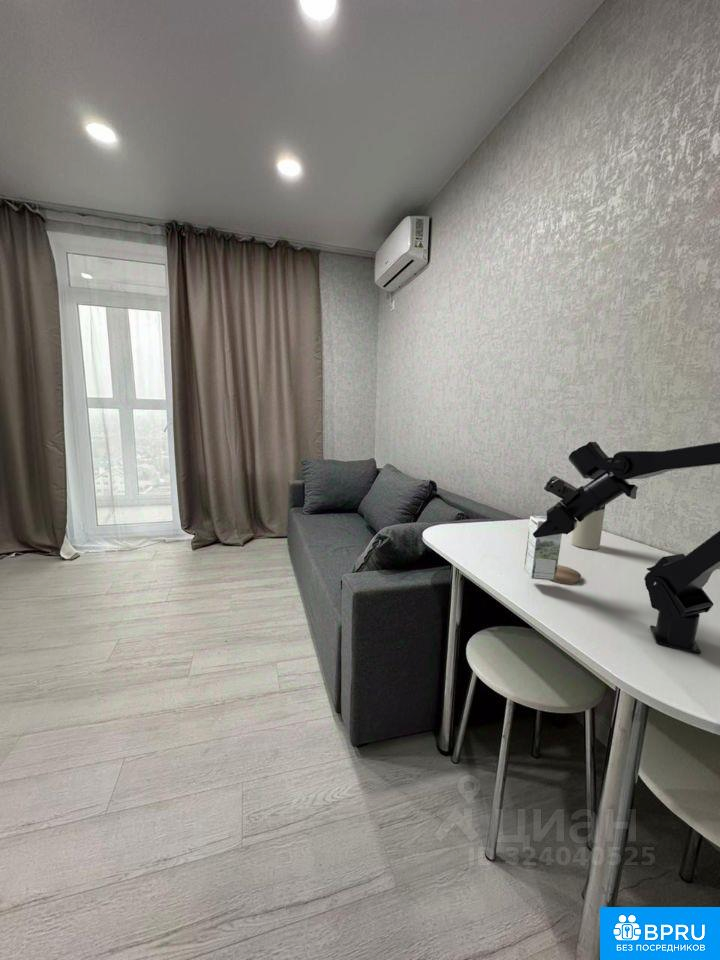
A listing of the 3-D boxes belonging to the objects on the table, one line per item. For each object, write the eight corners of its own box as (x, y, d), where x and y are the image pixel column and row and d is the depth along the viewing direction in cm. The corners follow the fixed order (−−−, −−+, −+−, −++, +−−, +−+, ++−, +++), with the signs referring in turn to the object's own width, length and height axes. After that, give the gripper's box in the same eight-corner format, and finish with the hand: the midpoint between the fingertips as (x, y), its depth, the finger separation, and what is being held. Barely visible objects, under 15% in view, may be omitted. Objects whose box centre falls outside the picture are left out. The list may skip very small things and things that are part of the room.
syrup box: (547, 572, 96) (553, 516, 94) (556, 581, 90) (563, 522, 88) (523, 570, 96) (529, 514, 94) (531, 579, 91) (537, 520, 88)
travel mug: (594, 551, 120) (602, 495, 117) (567, 545, 125) (574, 491, 122) (602, 546, 125) (610, 492, 122) (576, 540, 131) (582, 488, 128)
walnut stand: (581, 587, 93) (581, 582, 93) (536, 578, 98) (537, 573, 98) (579, 573, 102) (580, 568, 102) (538, 565, 107) (539, 561, 107)
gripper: (577, 463, 94) (525, 500, 102) (562, 469, 79) (503, 512, 88) (610, 499, 90) (554, 534, 99) (601, 512, 76) (537, 553, 84)
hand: (537, 532), depth 92 cm, fingers closed on syrup box, 7 cm apart
